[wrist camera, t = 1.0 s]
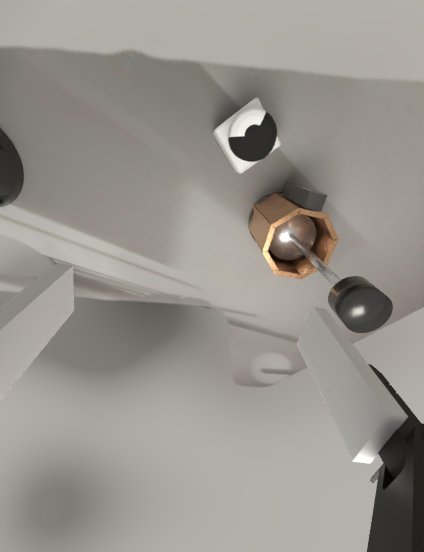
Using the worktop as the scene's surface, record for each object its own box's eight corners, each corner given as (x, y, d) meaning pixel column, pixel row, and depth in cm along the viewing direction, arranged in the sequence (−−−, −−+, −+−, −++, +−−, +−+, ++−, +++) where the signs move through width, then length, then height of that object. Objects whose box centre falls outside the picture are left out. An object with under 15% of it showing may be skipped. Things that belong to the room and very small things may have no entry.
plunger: (260, 253, 42) (308, 341, 23) (275, 206, 39) (345, 264, 20) (303, 261, 43) (386, 354, 24) (321, 217, 40) (434, 281, 20)
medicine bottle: (270, 145, 44) (292, 144, 33) (235, 171, 45) (244, 178, 35) (249, 104, 41) (265, 87, 30) (212, 132, 43) (214, 127, 32)
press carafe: (242, 241, 51) (254, 271, 38) (261, 175, 46) (282, 184, 33) (292, 251, 52) (319, 284, 40) (315, 188, 47) (356, 202, 34)
